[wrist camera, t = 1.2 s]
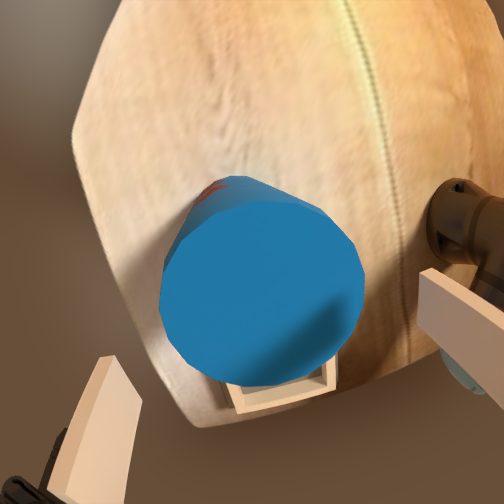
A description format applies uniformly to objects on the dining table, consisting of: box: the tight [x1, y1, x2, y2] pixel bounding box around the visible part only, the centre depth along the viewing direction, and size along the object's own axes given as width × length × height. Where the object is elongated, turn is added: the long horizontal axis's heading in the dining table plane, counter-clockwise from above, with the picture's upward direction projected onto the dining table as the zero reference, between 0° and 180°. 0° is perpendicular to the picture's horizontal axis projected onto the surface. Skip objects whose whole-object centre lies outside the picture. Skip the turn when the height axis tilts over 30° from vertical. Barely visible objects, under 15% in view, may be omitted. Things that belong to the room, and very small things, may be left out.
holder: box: [219, 351, 338, 414], centre depth 42 cm, size 20×20×4 cm
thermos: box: [159, 176, 365, 387], centre depth 26 cm, size 11×11×25 cm
